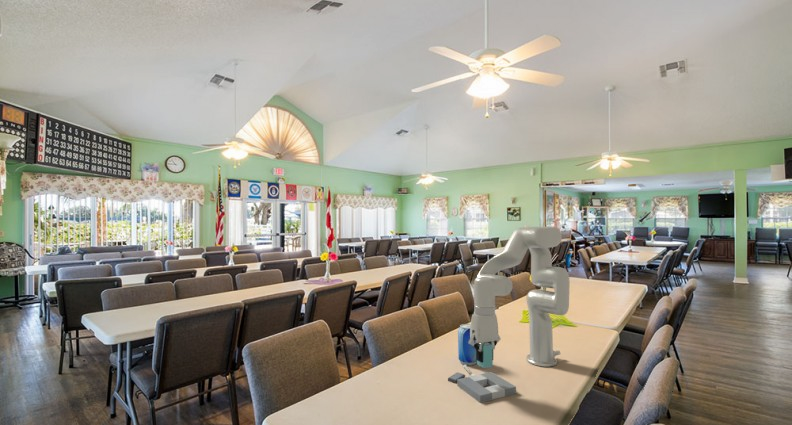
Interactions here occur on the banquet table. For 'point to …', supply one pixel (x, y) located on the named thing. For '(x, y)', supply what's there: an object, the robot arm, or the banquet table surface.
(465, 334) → the beer can
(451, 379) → the phone
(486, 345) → the block
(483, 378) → the socket plate
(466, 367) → the cable
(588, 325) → the banquet table surface
